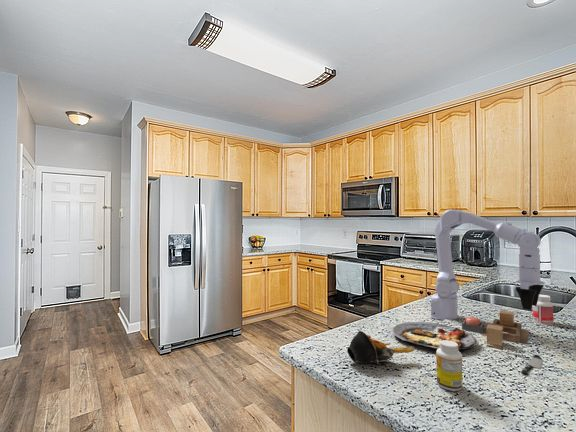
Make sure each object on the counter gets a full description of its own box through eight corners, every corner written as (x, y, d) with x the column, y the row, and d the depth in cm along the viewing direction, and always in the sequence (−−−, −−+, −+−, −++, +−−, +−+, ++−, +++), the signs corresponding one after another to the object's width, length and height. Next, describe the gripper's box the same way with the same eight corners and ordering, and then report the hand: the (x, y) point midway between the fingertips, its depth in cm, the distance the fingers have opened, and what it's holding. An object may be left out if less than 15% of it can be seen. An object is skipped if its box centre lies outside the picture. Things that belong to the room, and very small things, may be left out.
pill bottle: (556, 325, 117) (555, 296, 117) (550, 328, 114) (549, 298, 114) (536, 321, 123) (535, 293, 123) (529, 324, 119) (529, 295, 119)
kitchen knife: (549, 358, 91) (536, 354, 93) (549, 354, 91) (536, 350, 93) (534, 380, 78) (520, 374, 81) (535, 375, 78) (520, 370, 81)
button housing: (462, 331, 111) (461, 323, 111) (465, 327, 116) (465, 319, 116) (481, 335, 107) (481, 327, 107) (484, 330, 112) (484, 322, 112)
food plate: (483, 338, 104) (483, 327, 104) (465, 362, 87) (464, 350, 87) (409, 323, 121) (408, 314, 122) (381, 341, 104) (381, 331, 104)
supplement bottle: (440, 377, 79) (439, 337, 79) (464, 385, 75) (464, 342, 75) (433, 386, 75) (433, 343, 75) (459, 395, 71) (459, 349, 71)
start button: (464, 327, 111) (464, 319, 111) (467, 324, 114) (467, 316, 114) (479, 330, 108) (479, 321, 108) (481, 326, 112) (481, 318, 112)
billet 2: (499, 329, 110) (499, 312, 110) (500, 326, 113) (500, 310, 113) (513, 332, 108) (513, 314, 108) (514, 329, 111) (514, 312, 111)
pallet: (482, 338, 105) (482, 328, 105) (488, 325, 117) (488, 317, 117) (527, 347, 97) (527, 337, 97) (528, 332, 110) (528, 323, 110)
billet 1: (486, 346, 98) (486, 327, 98) (488, 342, 101) (488, 324, 101) (502, 349, 96) (501, 330, 96) (503, 345, 99) (503, 326, 99)
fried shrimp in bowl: (338, 339, 92) (387, 314, 97) (355, 378, 89) (405, 349, 94) (348, 339, 83) (402, 311, 89) (368, 381, 80) (422, 350, 86)
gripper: (539, 271, 100) (539, 314, 99) (548, 266, 109) (549, 305, 109) (512, 268, 105) (513, 309, 105) (523, 264, 114) (524, 301, 114)
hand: (529, 307), depth 107 cm, fingers open, 7 cm apart
